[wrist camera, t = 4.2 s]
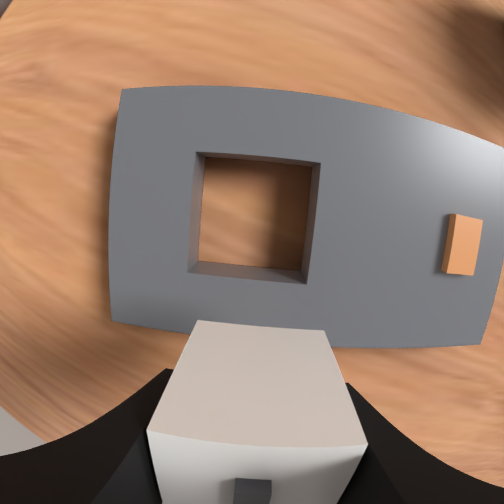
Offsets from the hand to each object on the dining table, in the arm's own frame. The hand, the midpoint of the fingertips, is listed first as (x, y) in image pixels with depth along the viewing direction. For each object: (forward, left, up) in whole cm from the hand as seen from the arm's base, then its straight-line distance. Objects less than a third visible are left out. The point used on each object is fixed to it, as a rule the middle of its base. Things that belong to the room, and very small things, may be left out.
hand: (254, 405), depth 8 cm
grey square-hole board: (+5, -3, -9) cm, 11 cm away
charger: (0, 0, -2) cm, 2 cm away
